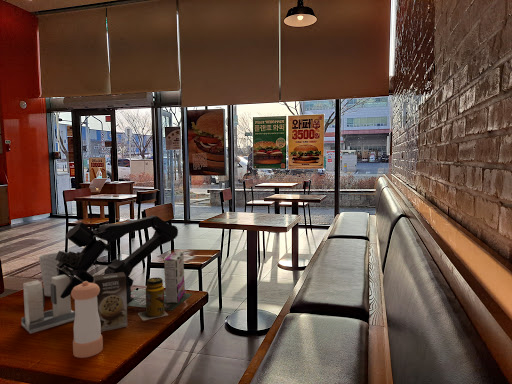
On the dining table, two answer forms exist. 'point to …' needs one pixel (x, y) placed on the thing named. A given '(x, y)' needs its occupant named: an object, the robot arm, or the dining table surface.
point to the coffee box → (112, 300)
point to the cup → (48, 270)
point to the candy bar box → (174, 277)
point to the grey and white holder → (40, 310)
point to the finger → (57, 288)
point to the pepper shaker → (86, 321)
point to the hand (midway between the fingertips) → (56, 294)
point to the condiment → (154, 300)
